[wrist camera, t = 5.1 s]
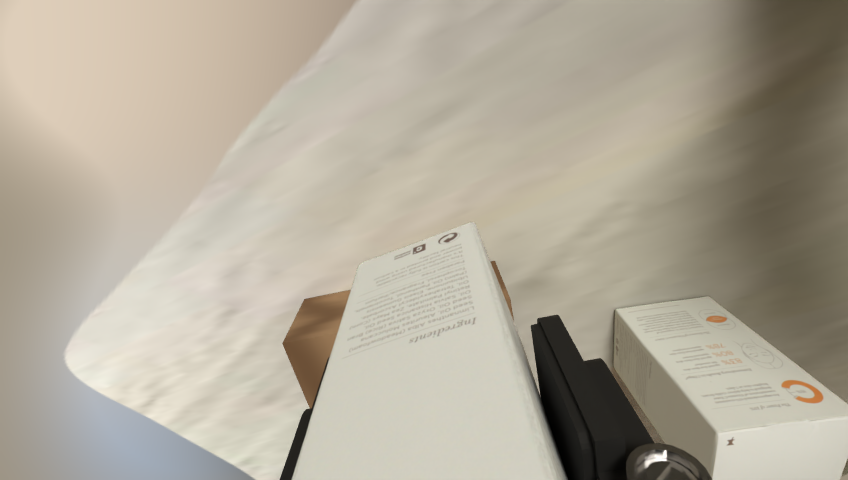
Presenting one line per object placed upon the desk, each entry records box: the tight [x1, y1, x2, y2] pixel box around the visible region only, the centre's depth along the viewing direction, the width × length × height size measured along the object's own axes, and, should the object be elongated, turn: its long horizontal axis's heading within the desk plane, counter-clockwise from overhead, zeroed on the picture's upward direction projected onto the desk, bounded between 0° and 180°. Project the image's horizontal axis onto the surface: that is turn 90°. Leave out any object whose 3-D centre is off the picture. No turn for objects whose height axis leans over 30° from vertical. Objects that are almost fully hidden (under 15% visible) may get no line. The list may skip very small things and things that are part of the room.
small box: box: [613, 296, 848, 480], centre depth 30 cm, size 8×6×13 cm
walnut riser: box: [282, 261, 514, 409], centre depth 34 cm, size 16×16×6 cm
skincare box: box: [292, 222, 568, 480], centre depth 9 cm, size 6×4×12 cm
